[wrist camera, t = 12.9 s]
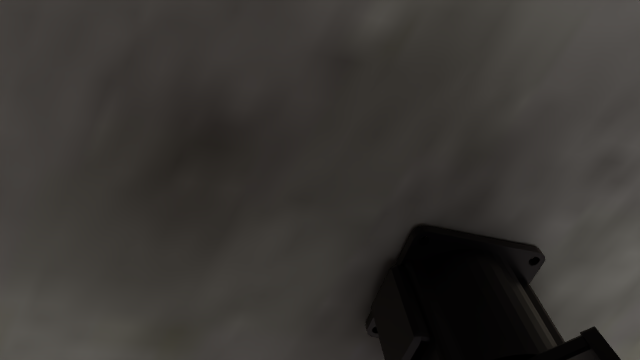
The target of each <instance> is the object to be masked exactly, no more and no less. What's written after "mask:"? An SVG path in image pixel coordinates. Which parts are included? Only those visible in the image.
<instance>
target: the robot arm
mask: <svg viewBox="0 0 640 360" xmlns="http://www.w3.org/2000/svg"><path fill="white" fill-rule="evenodd" d="M423 236H427V237H426V238H425V239H422V240H419V239H420V238H421V237H423ZM533 257H534V258H533ZM531 258H533V259H531ZM544 261H545V256H544V255H543V253H542V252H541V251H540V249H539V248H537V247H533V246H528V245H522V244H517V243H512V242H507V241H502V240H497V239H491V238H486V237H481V236H476V235H471V234H466V233H460V232H455V231H450V230H445V229H440V228H435V227H430V226H420V227H417V228H416V229H414V230H413V231H412V233H411V234H410V236H409V238H408V240H407V242H406V244H405V246H404V248H403V250H402V252H401V254H400V256H399V258H398V260H397V262H396V264H395V265H394V266H393V267H392V268H391V269H390V270H389V272H388V274H387V276H386V278H385V280H384V282H383V284H382V286H381V288H380V290H379V292H378V294H377V296H376V298H375V300H374V302H373V304H372V306H371V309H372V311H371V313H370V315H369V317H368V319H367V321H366V324H365V325H366V329H367V333H368V334H369V335H370V336H372V337H378V338H379V339H380V343H381V347H382V350H383V354H384V358H385V360H621V359H620V358H619V357H618V355H617V354H616V353H615V352H614V350H613V349H612V348H611V347H610V345H609V344H608V343H607V342H606V340H605V339H604V338H603V336H602V335H601V334H600V333H599V331H598V330H597V329H596V328H595V327H592V328H589V329H587V330H585V331H583V332H580V334H581V335H580V336H578V337H576V338H573V339H571V340H569V341H567V342H564V340H563V338H562V337H561V335H560V333H559V332H558V330H557V329H556V327H555V325H554V324H553V322H552V320H551V319H550V317H549V316H548V314H547V312H546V311H545V309H544V308H543V306H542V304H541V303H540V301H539V299H538V298H537V296H536V295H535V293H534V291H533V290H532V288H531V286H530V285H529V283H530V282H531V281H532V279H533V278H534V276H535V275H536V273H537V272H538V270H539V269H540V267H541V266H542V264H543V263H544Z"/></svg>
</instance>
